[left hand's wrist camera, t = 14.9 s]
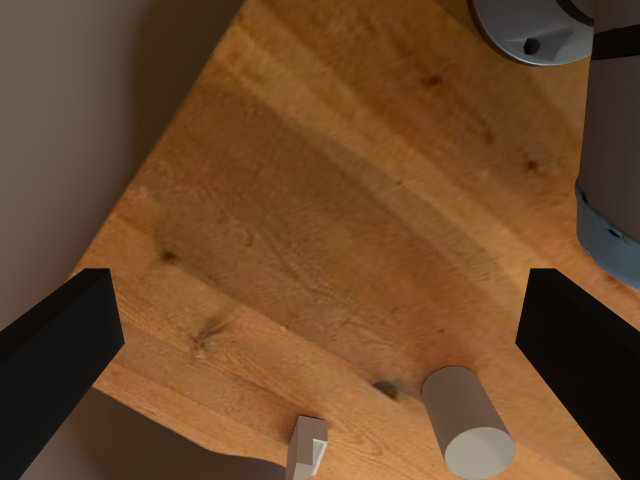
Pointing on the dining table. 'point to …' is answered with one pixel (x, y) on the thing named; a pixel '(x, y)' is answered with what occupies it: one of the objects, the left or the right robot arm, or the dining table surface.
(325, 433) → the white angled block
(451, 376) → the gray cylinder
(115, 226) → the dining table surface
